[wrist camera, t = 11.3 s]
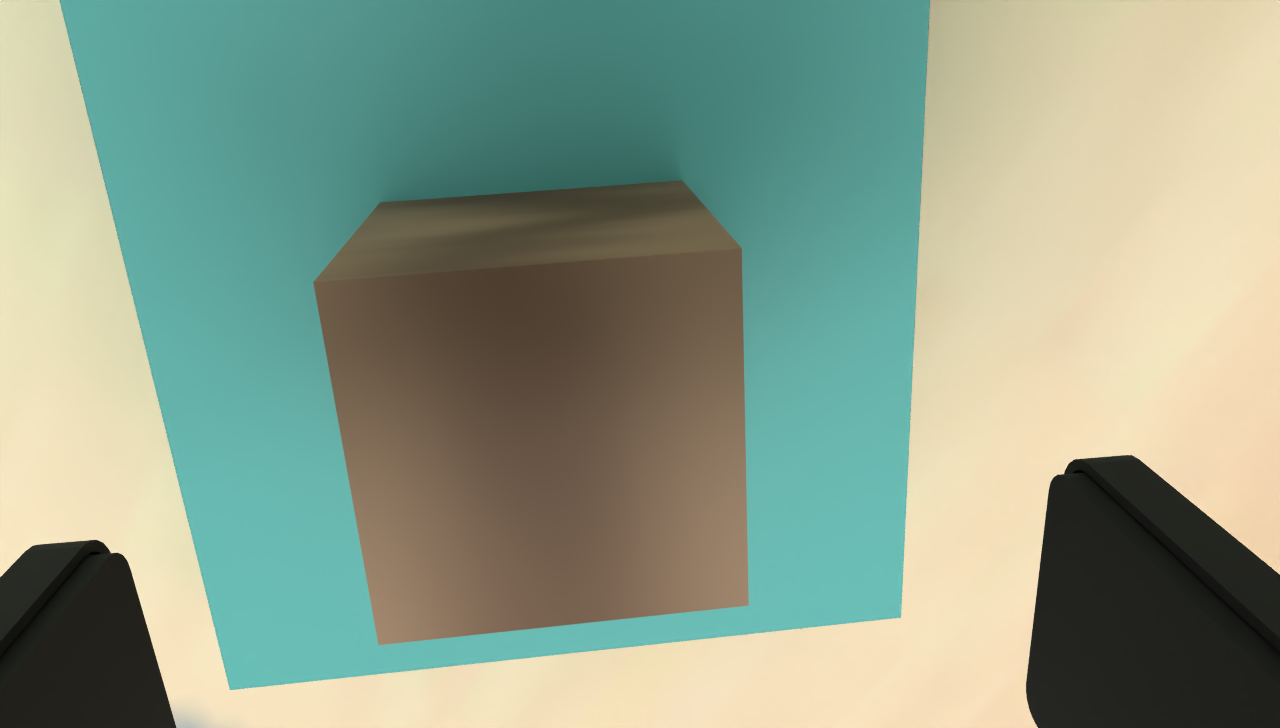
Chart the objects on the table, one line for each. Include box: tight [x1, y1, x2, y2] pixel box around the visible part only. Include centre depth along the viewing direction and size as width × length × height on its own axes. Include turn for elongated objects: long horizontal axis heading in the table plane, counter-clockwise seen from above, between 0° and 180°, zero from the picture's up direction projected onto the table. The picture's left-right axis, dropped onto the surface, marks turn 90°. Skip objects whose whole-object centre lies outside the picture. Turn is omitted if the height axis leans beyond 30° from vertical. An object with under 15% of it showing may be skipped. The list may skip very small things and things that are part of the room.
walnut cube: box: [313, 180, 749, 645], centre depth 17 cm, size 6×6×6 cm
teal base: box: [60, 0, 930, 690], centre depth 22 cm, size 16×16×4 cm
